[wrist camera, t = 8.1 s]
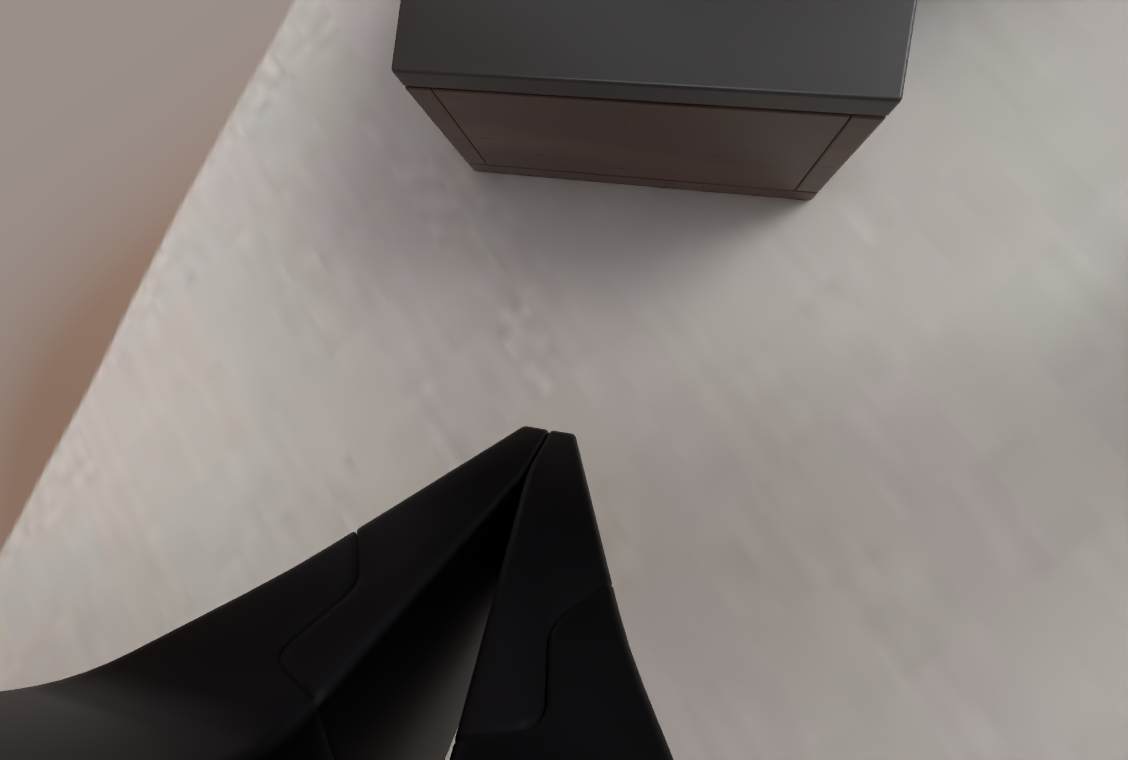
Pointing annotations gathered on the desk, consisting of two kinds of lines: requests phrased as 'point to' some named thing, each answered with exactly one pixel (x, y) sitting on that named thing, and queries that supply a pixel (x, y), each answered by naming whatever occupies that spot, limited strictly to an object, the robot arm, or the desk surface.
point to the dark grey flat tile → (665, 50)
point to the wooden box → (647, 140)
